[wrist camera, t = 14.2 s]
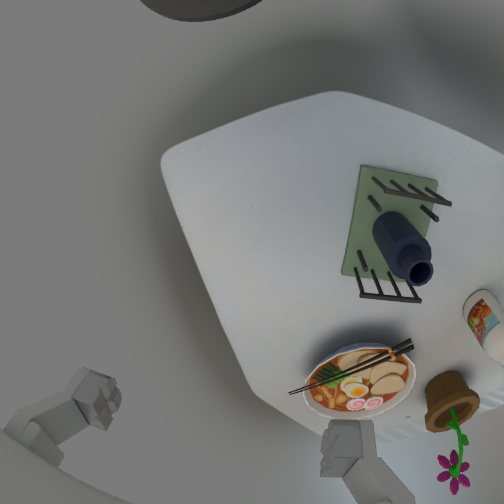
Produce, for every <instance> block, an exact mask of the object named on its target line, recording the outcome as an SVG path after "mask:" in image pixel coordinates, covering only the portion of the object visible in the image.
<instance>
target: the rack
mask: <svg viewBox="0 0 504 504" xmlns="http://www.w3.org/2000/svg"><path fill="white" fill-rule="evenodd" d="M437 186H438V181H436V180H432V179H428V178H424V177H419V176H415V175H410V174H405V173H400V172H396V171H391V170H385V169H380V168H375V167H369V166H363V165H360V172H359V179H358V186H357V192H356V198H355V204H354V210H353V215H352V221H351V226H350V231H349V236H348V241H347V246H346V251H345V256H344V261H343V265H342V270H341V273H342V275H346V276H355V277H356V279H357V283H358V286H359V290H360V295H359V296H360V298H368V299H378V300H388V301H399V302H410V303H421V302H422V299H421V298H419V297H418V295H417V293H416V291H415V290H414V288H413V286H412V285H411V284H410V283H409V282H408V281H407V279H400V278H398V277H396V276H395V275H393V274H392V272H391V270H390V269H389V267H388V265H387V263H386V261H385V259H384V257H383V255H382V253H381V252H380V250H379V248H378V246H377V244H376V242H375V240H374V238H373V233H372V230H373V225H374V223H375V221H376V220H377V218H378V217H379V216H380V215H382V214H384V213H386V212H390V211H394V212H398V213H400V214H402V215H403V216H404V217H406V218H407V220H408V221H409V222H410V223H411V224H412V225H413V226H414V227H415V228H416V229H417V230H418V231H419V233H420V234H421V235H422V236H423V237H424V238H425V237H426V233H427V229H428V225H429V221H430V217H431V218H432V219H433V220H434V221H435V222H438V221H439V217H438V216H436V215H435V214H434V213H433V212H432V209H433V205H434V203H437V204H441V205H446V206H450V207H451V205H452V202H451V201H448V200H446V199H445V198H443V197H442V196H440V195H439V194H437V193H436V191H437ZM435 197H436V198H435ZM360 277H363V278H372V279H374V282H375V284H376V287H377V289H378V292H379V294H373V293H365V292H364V289H363V286H362V282H361V279H360ZM378 279H380V280H389V281H391V283H392V285H393V287H394V290H395V292H396V294H397V296H393V295H384V294H383V291H382V289H381V286H380V284H379V281H378ZM395 281H398V282H406V283H407V284H408V286H409V288H410V290H411V292H412V294H413V296H414V298H413V297H403V296H401V293H400V291H399V289H398V287H397V285H396V283H395Z"/></svg>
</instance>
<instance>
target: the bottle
mask: <svg viewBox="0 0 504 504" xmlns="http://www.w3.org/2000/svg"><path fill="white" fill-rule="evenodd" d="M372 233H373V238H374V240H375V242H376V244H377V246H378V248H379V250H380V252H381V253H382V255H383V257H384V259H385V261H386V263H387V265H388V267H389V269H390V270H391V272H392V274H393V275H395V276H396V277H398V278H400V279H407V281H408V282H409V283H410V284H411V285H413V286H421V285H424V284H426V283H427V282H428V281H429V280H430V279H431V277H432V274H433V266H432V264H431V262H430V260H431V247H430V246H429V244H428V242H427V240H426V239H425V238H424V237H423V236H422V235H421V234H420V233H419V231H418V230H417V229H416V228H415V227H414V226H413V225H412V224H411V223H410V222H409V221H408V220H407V218H406V217H404V216H403V215H402V214H400V213H398V212H394V211H390V212H386V213H384V214H382V215H380V216H379V217H378V218H377V220H376V221H375V223H374V225H373V230H372Z"/></svg>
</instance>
